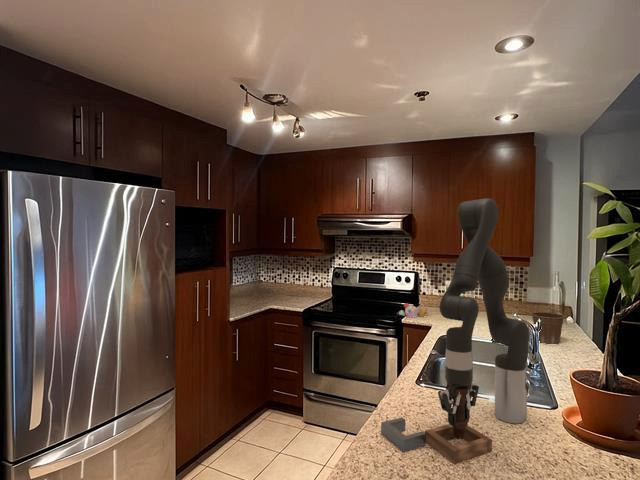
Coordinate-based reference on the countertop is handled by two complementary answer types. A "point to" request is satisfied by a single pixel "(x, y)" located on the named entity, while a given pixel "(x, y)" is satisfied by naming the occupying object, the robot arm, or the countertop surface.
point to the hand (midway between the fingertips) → (458, 422)
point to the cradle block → (402, 435)
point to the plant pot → (549, 327)
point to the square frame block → (456, 454)
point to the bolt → (460, 414)
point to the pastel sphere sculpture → (413, 311)
